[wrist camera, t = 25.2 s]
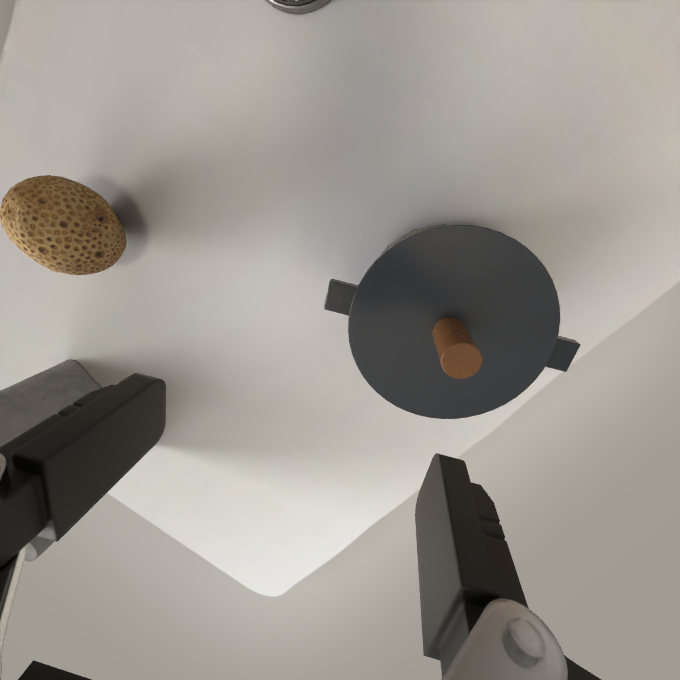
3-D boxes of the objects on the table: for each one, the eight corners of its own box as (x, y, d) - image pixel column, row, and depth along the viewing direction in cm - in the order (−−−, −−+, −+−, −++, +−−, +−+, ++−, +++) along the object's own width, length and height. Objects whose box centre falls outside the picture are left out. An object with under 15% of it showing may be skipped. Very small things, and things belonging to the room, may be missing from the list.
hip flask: (163, 436, 48) (14, 580, 29) (147, 451, 49) (-4, 597, 30) (69, 355, 45) (-158, 455, 27) (56, 373, 47) (-169, 480, 28)
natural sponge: (158, 207, 37) (78, 207, 27) (139, 281, 40) (62, 302, 31) (81, 165, 36) (-27, 150, 27) (67, 243, 40) (-32, 253, 30)
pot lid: (377, 202, 25) (370, 199, 18) (592, 253, 24) (661, 268, 18) (332, 384, 30) (316, 429, 24) (505, 432, 29) (534, 490, 23)
